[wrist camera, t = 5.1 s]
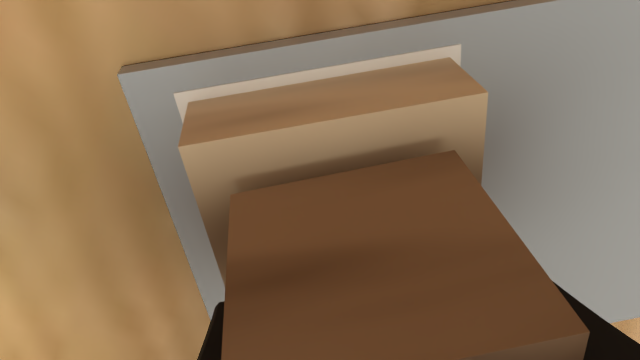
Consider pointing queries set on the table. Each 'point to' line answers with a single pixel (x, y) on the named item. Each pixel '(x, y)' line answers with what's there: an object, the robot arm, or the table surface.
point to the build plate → (500, 135)
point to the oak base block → (327, 132)
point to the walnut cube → (388, 272)
